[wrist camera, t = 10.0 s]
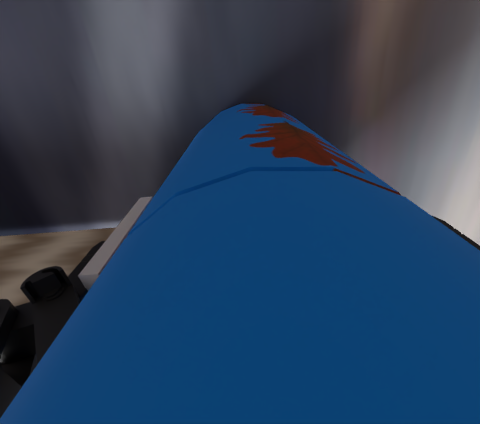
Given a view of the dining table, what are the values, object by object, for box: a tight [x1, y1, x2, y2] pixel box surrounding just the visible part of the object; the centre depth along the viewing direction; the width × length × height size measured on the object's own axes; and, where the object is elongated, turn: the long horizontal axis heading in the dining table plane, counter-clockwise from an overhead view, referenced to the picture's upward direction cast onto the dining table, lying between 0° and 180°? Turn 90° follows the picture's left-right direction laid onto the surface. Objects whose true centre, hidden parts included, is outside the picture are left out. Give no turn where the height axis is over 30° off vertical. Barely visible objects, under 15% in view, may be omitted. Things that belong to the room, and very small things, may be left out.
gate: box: [0, 228, 116, 306], centre depth 20 cm, size 24×2×12 cm, turn 95°
